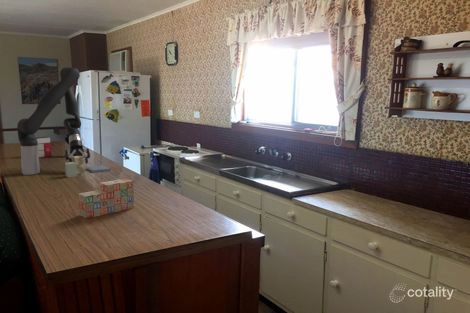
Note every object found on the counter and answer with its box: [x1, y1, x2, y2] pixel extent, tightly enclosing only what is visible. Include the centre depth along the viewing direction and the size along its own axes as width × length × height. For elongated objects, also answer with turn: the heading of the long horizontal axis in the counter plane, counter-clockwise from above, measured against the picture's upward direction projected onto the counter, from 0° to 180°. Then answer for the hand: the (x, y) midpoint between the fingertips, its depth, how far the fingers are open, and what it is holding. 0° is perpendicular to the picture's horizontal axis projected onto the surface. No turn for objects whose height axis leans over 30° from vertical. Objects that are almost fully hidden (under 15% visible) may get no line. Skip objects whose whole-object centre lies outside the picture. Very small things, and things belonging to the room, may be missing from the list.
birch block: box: [72, 156, 86, 175], centre depth 234 cm, size 5×5×10 cm
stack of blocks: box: [78, 178, 135, 219], centre depth 158 cm, size 21×6×12 cm, turn 136°
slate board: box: [85, 164, 112, 174], centre depth 243 cm, size 11×13×2 cm
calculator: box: [35, 136, 52, 159], centre depth 288 cm, size 11×4×15 cm, turn 143°
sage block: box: [64, 161, 78, 178], centre depth 224 cm, size 5×5×8 cm
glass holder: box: [64, 136, 85, 157], centre depth 292 cm, size 9×14×15 cm, turn 115°
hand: (79, 163), depth 233 cm, fingers open, 8 cm apart
